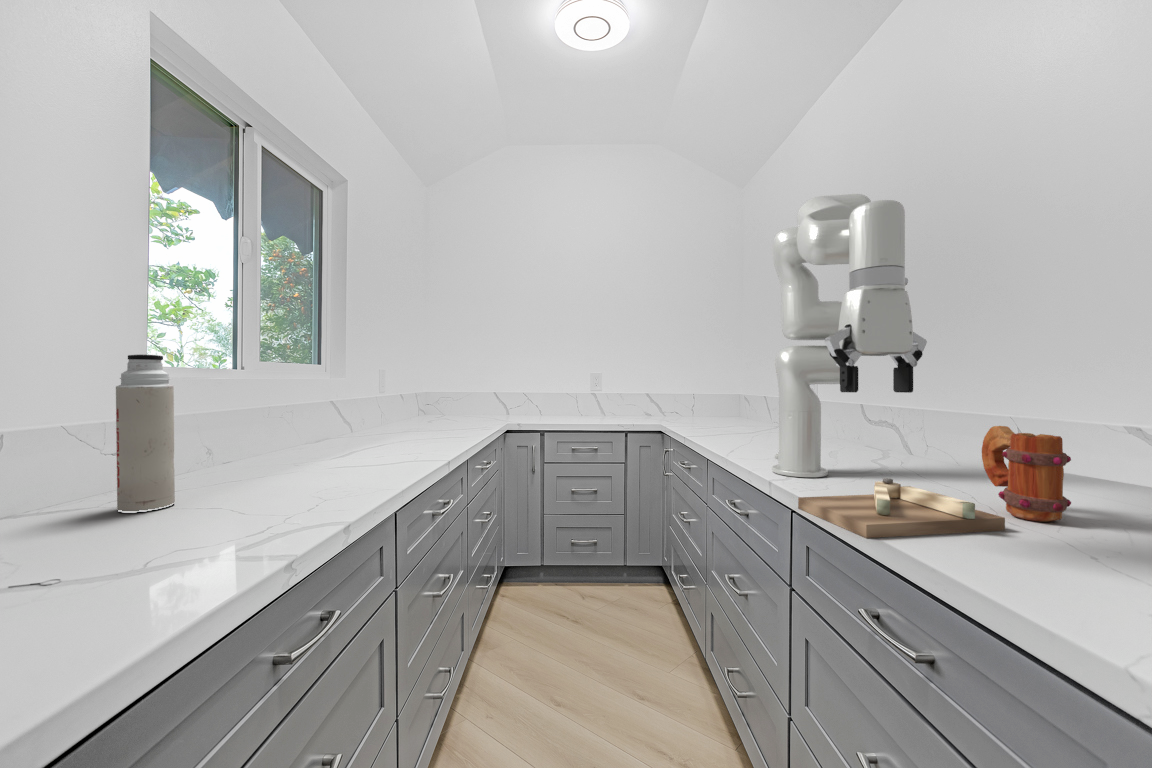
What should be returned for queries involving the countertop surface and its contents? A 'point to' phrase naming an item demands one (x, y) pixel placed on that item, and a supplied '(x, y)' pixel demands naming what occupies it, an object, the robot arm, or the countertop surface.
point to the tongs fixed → (937, 501)
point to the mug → (1027, 472)
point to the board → (894, 517)
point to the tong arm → (885, 496)
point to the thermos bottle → (145, 435)
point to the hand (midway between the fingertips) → (876, 392)
